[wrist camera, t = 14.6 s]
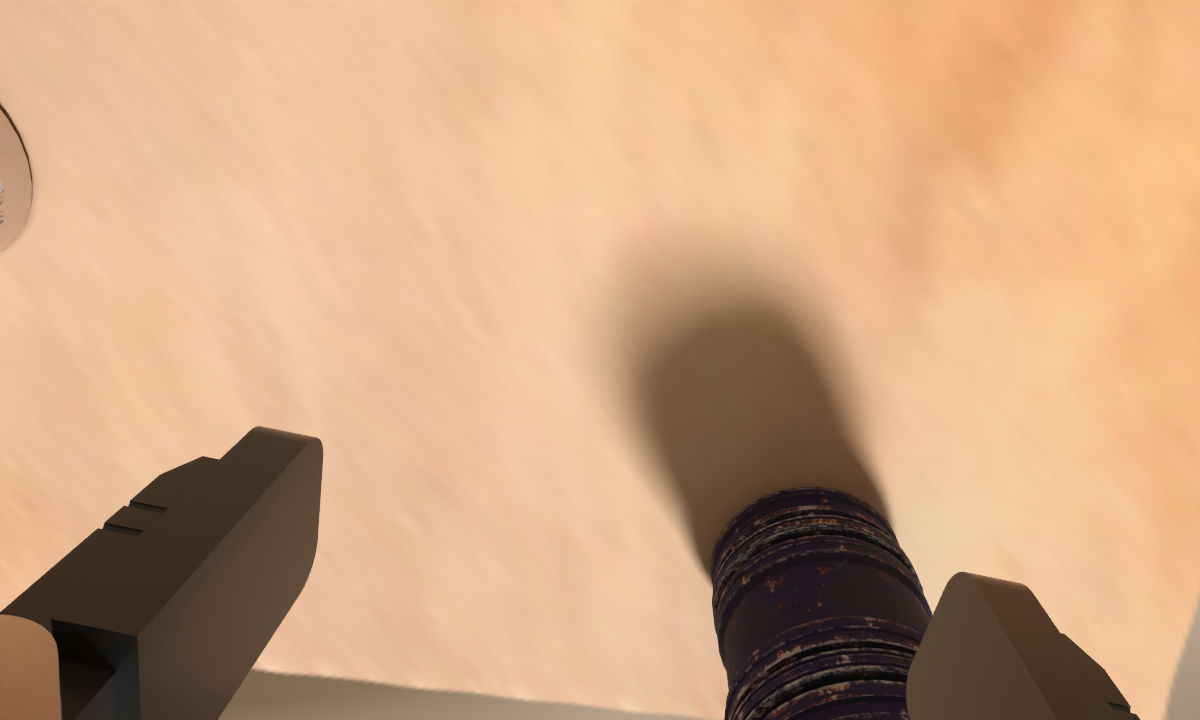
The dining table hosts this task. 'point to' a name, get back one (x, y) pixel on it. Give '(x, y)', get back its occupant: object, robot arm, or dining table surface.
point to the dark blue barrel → (815, 610)
